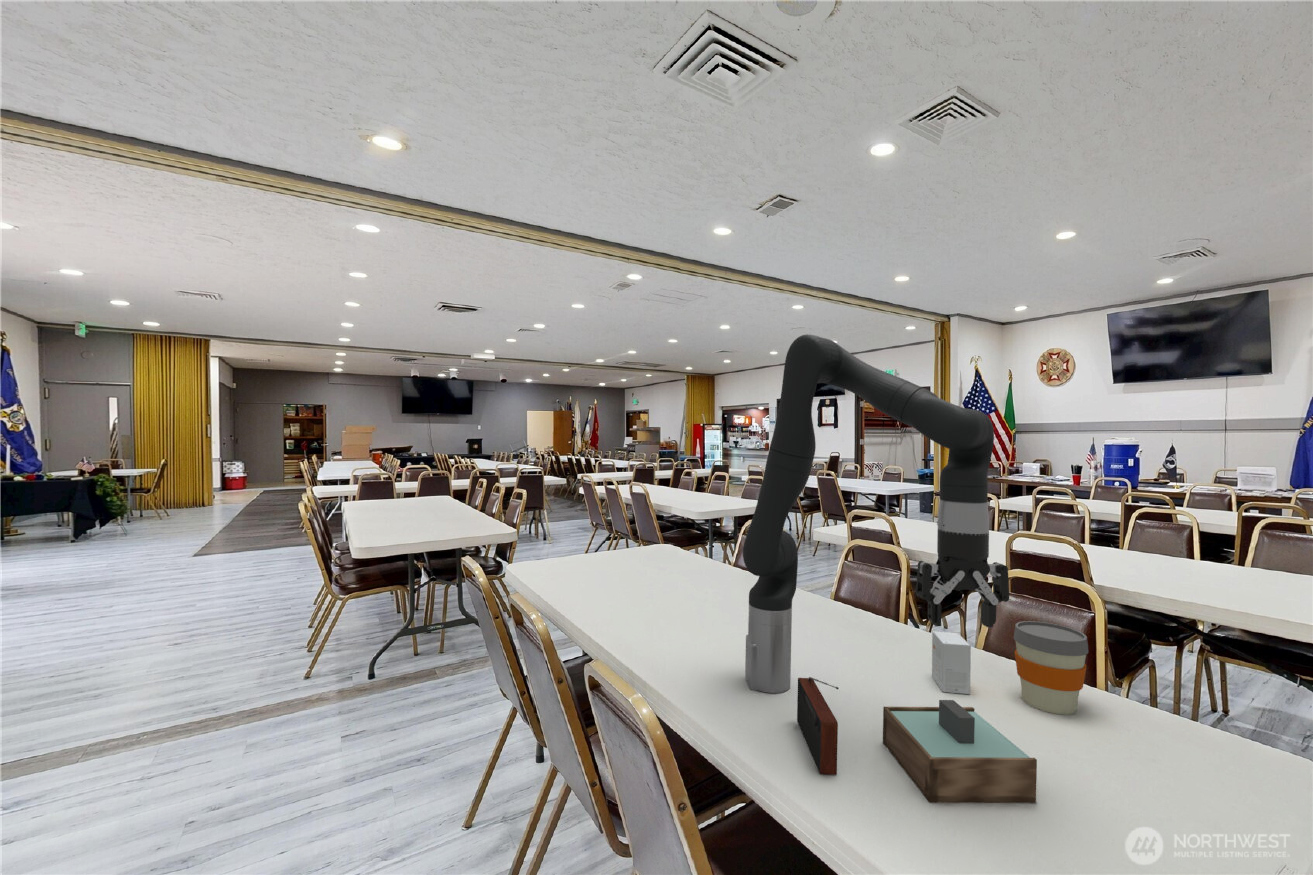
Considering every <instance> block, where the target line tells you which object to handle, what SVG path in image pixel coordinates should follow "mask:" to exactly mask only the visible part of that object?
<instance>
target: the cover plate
mask: <svg viewBox="0 0 1313 875" xmlns="http://www.w3.org/2000/svg"><path fill="white" fill-rule="evenodd" d="M938 701H939V702H938V707H939V711H891V712H892V714H893V715H894V716H895V717H896V718H897V719H898V720H899V721H900V722H901V723H902V725H903V726H904V727H905V728H906V729H907V730H908V731H909V732H910V733H911V735H912V736H913V737H914V738H915V739H916V740H917V741H918V742H919V743H920V745H921V746H922V747H923V748H924V749H925V750H926V751H927V752H928V753H929V754H930V756H931V757H982V758H1031V757H1030V756H1029V755H1028V754H1027V753H1025V752H1024V751H1023V750H1022V749H1021V748H1020V747H1019V746H1017V745H1016V744H1014V743H1013V742H1012V741H1011V740H1010V739H1008V738H1007V737H1006V736H1005V735H1004V734H1002V733H1001V732H1000V731H999V730H998V729H997V728H995V726H993V724H990V723H989V722H988V721H987V720H985V719H984V718H983V717H982V716H980V714H978V713H977V712H976V711H974V712H967V711H966V710H965V709H963V708H962V707H963V706H961V705H960V704H958V703H957V701H956V700H955V699H939V700H938Z"/></svg>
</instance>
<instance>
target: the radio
mask: <svg viewBox="0 0 1313 875" xmlns="http://www.w3.org/2000/svg"><path fill="white" fill-rule="evenodd" d="M816 682H818V683H821V684H824V685H826V686H829V687H832V688H834V689H836V690H839V687H838V686H834V685H831V684H829V683H827V682H825V681H821V680H819V679H817V678H814V677H811V676H809V677H797V705H796V706H797V707H796V708H797V709H796V722H797V725H798V728H799V730H800V732H801V734H802V736H803V739H804V741H805V744H806V746H807V748H808V751H809V753H810V756H811V757H812V759H813V762H814V764H815V767H816V770H817V771H818V774H819V775H829V776H830V775H831V776H836V775H838V737H839V736H838V735H839V732H838V731H839V729H838V728H839V722H838V719H836V717H835V715H834V712H832V710H831V707H830V706H829V705H828V703H827V700H826V699H825V697H824V696H823V694H822V692H821V690H820V689H819V687H818V686H817V684H816Z"/></svg>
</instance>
